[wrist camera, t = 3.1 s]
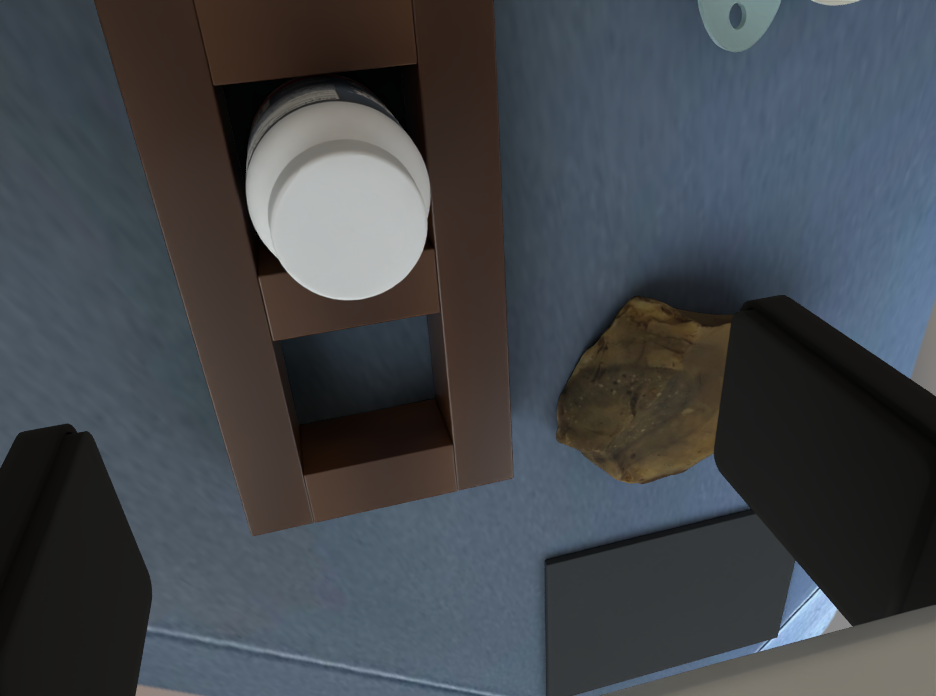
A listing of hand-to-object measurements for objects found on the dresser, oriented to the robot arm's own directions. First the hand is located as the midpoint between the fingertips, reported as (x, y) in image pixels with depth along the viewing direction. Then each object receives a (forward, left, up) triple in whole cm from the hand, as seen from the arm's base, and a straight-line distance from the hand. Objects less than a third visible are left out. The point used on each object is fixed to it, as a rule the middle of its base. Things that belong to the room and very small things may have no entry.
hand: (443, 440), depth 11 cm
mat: (+16, -29, -18) cm, 38 cm away
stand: (0, -4, -18) cm, 18 cm away
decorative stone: (+14, -13, -18) cm, 26 cm away
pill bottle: (0, 0, -18) cm, 18 cm away
